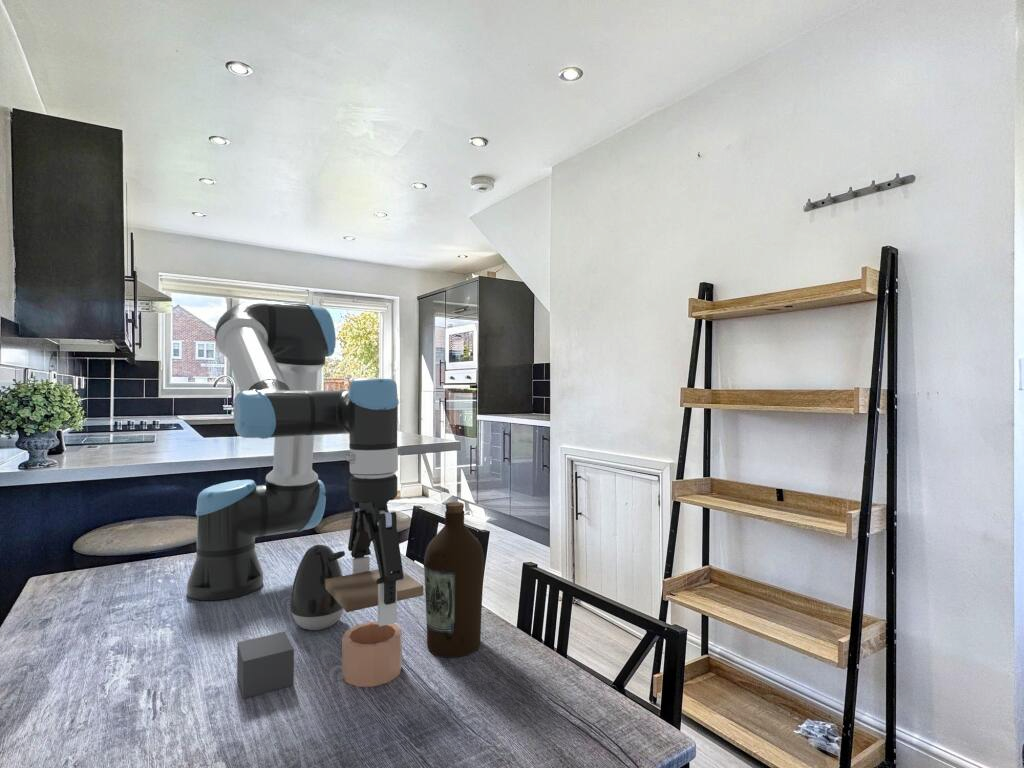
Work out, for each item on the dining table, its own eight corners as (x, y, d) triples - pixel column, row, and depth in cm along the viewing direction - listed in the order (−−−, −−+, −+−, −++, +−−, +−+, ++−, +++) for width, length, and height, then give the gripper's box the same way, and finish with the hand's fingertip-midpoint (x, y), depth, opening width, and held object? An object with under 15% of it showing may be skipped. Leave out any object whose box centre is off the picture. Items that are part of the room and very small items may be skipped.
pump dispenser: (329, 639, 99) (330, 555, 99) (278, 633, 101) (278, 551, 101) (356, 615, 109) (357, 539, 109) (309, 611, 111) (309, 536, 111)
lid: (325, 588, 90) (325, 579, 90) (395, 574, 96) (395, 566, 96) (346, 612, 80) (346, 602, 80) (423, 595, 86) (423, 585, 86)
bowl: (336, 666, 89) (336, 629, 89) (389, 652, 94) (389, 617, 94) (352, 692, 82) (353, 652, 82) (409, 675, 87) (409, 637, 87)
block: (237, 677, 86) (237, 642, 86) (284, 664, 90) (284, 631, 90) (243, 699, 80) (243, 661, 80) (293, 684, 84) (293, 649, 84)
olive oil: (451, 626, 105) (452, 495, 104) (495, 641, 98) (496, 502, 98) (410, 647, 96) (411, 505, 96) (456, 666, 90) (457, 513, 90)
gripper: (329, 467, 96) (329, 590, 96) (376, 488, 76) (376, 644, 76) (371, 463, 100) (371, 582, 100) (426, 483, 80) (426, 631, 80)
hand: (373, 609), depth 88 cm, fingers closed on lid, 12 cm apart
